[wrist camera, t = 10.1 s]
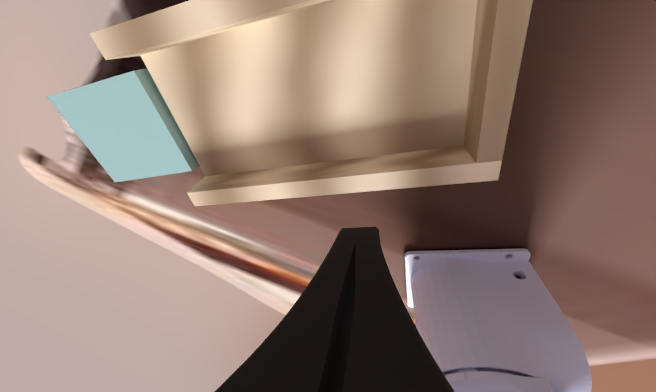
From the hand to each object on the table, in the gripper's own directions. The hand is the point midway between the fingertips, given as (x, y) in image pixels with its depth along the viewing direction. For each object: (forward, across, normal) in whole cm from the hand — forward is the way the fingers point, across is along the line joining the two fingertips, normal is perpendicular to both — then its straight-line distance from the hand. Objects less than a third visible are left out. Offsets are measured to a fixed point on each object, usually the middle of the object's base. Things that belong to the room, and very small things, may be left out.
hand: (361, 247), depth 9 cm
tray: (+9, +3, -4) cm, 11 cm away
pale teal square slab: (+10, +17, -4) cm, 20 cm away
